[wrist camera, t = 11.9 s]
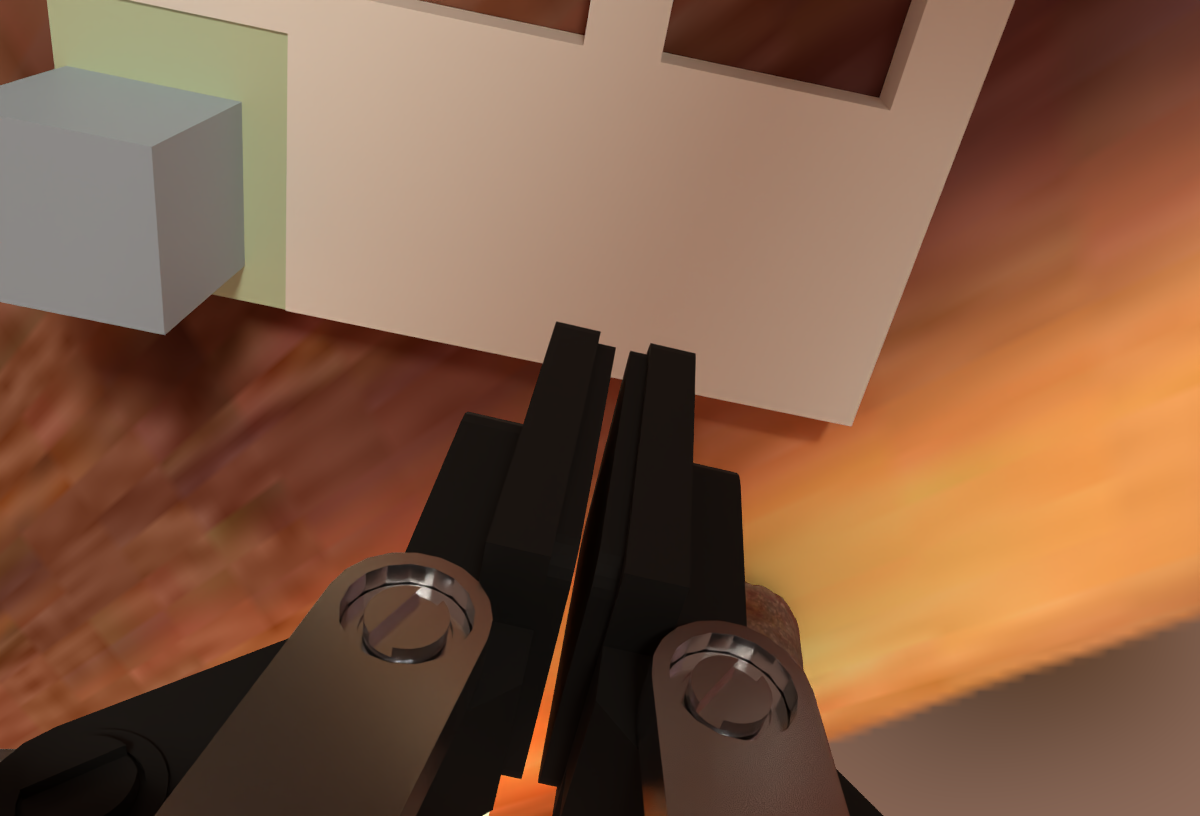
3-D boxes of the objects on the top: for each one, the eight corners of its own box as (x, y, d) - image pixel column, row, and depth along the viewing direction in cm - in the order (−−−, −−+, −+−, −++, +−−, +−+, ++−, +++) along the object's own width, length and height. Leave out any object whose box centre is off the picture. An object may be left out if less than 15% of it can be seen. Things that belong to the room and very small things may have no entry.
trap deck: (41, -403, 26) (-5, -422, 24) (1060, -181, 27) (1086, -185, 25) (105, 249, 36) (76, 267, 35) (843, 400, 37) (851, 426, 35)
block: (66, 65, 31) (-60, 103, 26) (241, 101, 31) (151, 146, 26) (84, 233, 34) (-25, 296, 29) (244, 265, 34) (164, 334, 29)
